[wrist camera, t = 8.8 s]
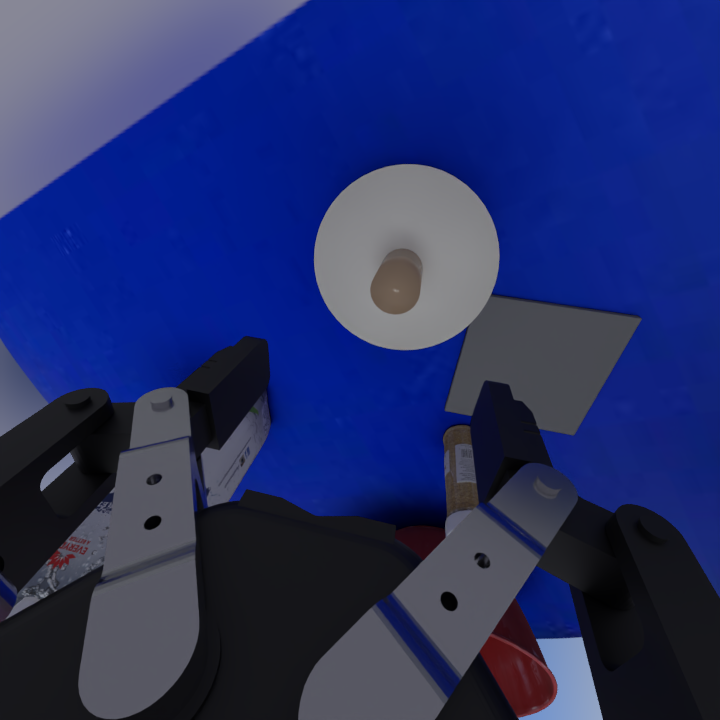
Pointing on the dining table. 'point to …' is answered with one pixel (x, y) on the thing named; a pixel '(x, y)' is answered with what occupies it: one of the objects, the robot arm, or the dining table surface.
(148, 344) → the dining table surface
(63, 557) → the juice carton
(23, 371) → the dining table surface
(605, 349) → the mat
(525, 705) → the mixing bowl
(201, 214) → the dining table surface
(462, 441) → the sprinkles bottle
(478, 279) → the lid
